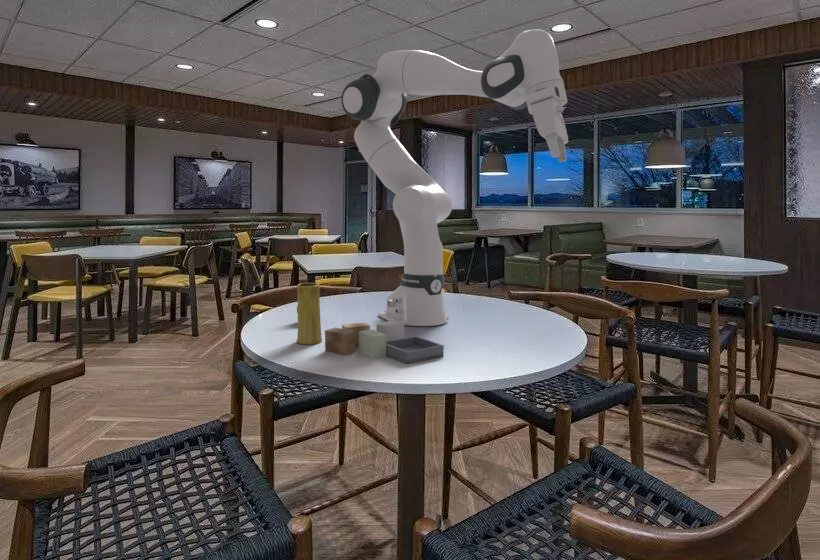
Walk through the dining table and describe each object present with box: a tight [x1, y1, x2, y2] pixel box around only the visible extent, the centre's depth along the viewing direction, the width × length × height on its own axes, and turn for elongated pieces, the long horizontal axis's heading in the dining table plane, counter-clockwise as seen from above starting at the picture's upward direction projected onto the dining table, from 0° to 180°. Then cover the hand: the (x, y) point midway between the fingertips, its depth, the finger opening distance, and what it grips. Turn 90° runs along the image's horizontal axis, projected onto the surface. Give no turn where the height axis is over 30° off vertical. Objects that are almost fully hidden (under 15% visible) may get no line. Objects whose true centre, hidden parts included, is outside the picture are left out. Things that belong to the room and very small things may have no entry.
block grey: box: [376, 320, 405, 341], centre depth 127 cm, size 6×4×5 cm, turn 136°
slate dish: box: [385, 335, 445, 365], centre depth 117 cm, size 10×10×2 cm
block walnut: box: [324, 327, 356, 356], centre depth 119 cm, size 6×4×5 cm, turn 57°
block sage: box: [358, 328, 387, 359], centre depth 117 cm, size 6×4×5 cm, turn 37°
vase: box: [296, 282, 323, 346], centre depth 127 cm, size 6×6×14 cm
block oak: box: [341, 322, 371, 348], centre depth 125 cm, size 6×4×5 cm, turn 111°
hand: (559, 159), depth 120 cm, fingers open, 8 cm apart
